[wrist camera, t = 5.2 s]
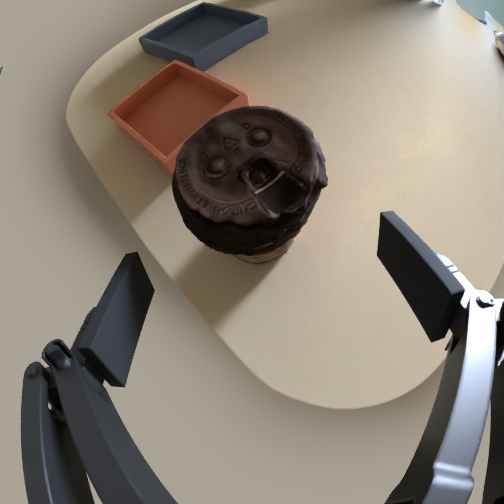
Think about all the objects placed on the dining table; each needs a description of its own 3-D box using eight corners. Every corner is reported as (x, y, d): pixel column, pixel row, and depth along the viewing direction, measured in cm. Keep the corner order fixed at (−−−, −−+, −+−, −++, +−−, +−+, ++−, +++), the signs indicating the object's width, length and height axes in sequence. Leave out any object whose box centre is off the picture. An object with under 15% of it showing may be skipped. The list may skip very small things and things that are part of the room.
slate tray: (144, 51, 33) (137, 38, 30) (206, 14, 34) (203, 2, 31) (198, 75, 30) (192, 58, 27) (268, 33, 31) (267, 17, 28)
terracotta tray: (118, 127, 29) (107, 113, 26) (181, 75, 30) (174, 59, 27) (176, 179, 27) (164, 164, 24) (250, 113, 28) (247, 94, 25)
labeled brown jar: (308, 278, 24) (343, 245, 11) (214, 281, 24) (151, 251, 12) (302, 187, 25) (318, 91, 13) (216, 191, 26) (171, 103, 13)
